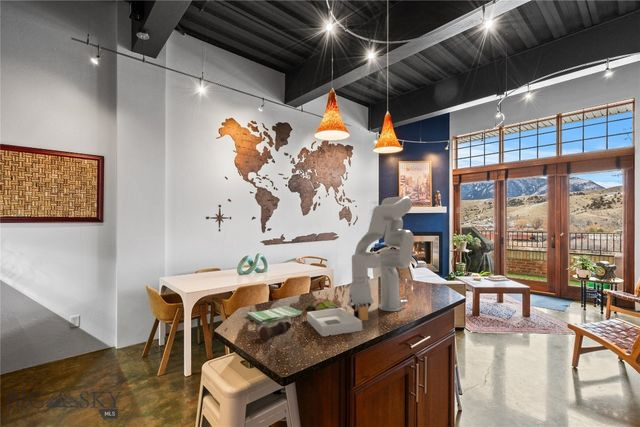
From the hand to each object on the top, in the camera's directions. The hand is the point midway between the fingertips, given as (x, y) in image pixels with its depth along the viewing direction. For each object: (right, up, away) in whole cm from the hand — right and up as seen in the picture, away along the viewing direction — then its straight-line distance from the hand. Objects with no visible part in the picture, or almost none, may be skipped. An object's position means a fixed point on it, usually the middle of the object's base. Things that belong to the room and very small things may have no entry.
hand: (360, 317), depth 143 cm
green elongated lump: (-18, -2, +14) cm, 23 cm away
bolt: (-38, -1, -19) cm, 42 cm away
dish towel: (-43, -2, +8) cm, 43 cm away
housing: (-14, 0, -9) cm, 16 cm away
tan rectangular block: (0, 0, -1) cm, 1 cm away
